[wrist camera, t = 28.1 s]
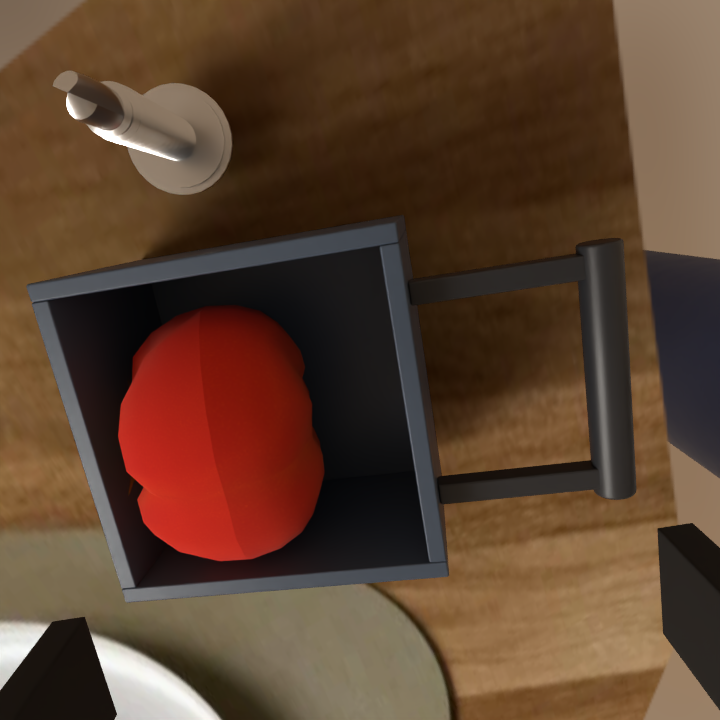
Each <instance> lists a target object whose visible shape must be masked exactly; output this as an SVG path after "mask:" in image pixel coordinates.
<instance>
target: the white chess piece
mask: <svg viewBox="0 0 720 720" xmlns="http://www.w3.org/2000/svg"><path fill="white" fill-rule="evenodd" d="M53 87H56V88H58V89H60V90H63V91H65V92H67V93H68V95H67V109H68V111H69V113H70V115H71V116H72V117H73V118H74V119H76V120H77V121H79V122H82V123H85V124H87V125H88V127H89V128H90V129H91V130H92V131H93V132H94V133H96V134H97V135H100V136H101V137H102V138H104V139H106V140H108V141H111V142H115V143H118V144H121V145H125V146H128V152H129V154H130V157H131V159H132V161H133V164H134V165H135V167H136V168H137V170H138V171H139V173H140V174H141V175H142V176H143V177H144V178H145V179H146V180H147V181H148V182H149V183H151V184H152V185H154V186H155V187H157V188H158V189H161V190H163V191H166V192H168V193H173V194H179V195H190V194H196V193H199V192H203V191H205V190H207V189H208V188H210V187H212V186H213V185H215V184H216V183H217V182H218V181H219V180H220V179H221V178H222V176H223V175H224V173H225V172H226V170H227V168H228V166H229V163H230V161H231V158H232V151H233V135H232V131H231V127H230V123H229V121H228V119H227V117H226V115H225V113H224V112H223V110H222V109H221V108H220V106H219V105H218V104H217V102H215V101H214V100H213V99H212V98H211V97H210V96H209V95H207V94H206V93H205V92H203V91H201V90H199V89H197V88H196V87H192V86H189V85H186V84H178V83H170V84H164V85H160V86H158V87H155V88H153V89H151V90H149V91H148V92H147V93H145V94H144V95H141V94H139V93H137V92H136V91H134V90H132V89H130V88H129V87H127V86H124V85H121V84H119V83H116V82H112V81H103V82H99V81H97V80H95V79H93V78H91V77H89V76H86V75H84V74H81V73H78V72H74V71H66V72H63V73H61V74H60V75H59V76H58V77H57V78H56V79H55V81H54V83H53Z"/></svg>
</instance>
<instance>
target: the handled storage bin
mask: <svg viewBox="0 0 720 720" xmlns="http://www.w3.org/2000/svg"><path fill="white" fill-rule="evenodd" d="M575 248H576V254H570V255H564V256H558V257H551V258H545V259H538V260H532V261H525V262H519V263H512V264H506V265H500V266H493V267H487V268H480V269H474V270H467V271H461V272H455V273H448V274H442V275H435V276H429V277H422V278H416V279H413V274H412V267H411V260H410V253H409V247H408V240H407V233H406V226H405V219H404V216H403V215H400V216H394V217H388V218H382V219H376V220H371V221H365V222H359V223H353V224H347V225H341V226H336V227H330V228H324V229H318V230H312V231H307V232H301V233H295V234H289V235H283V236H277V237H272V238H266V239H260V240H254V241H248V242H242V243H237V244H231V245H225V246H219V247H213V248H207V249H202V250H196V251H190V252H184V253H178V254H173V255H167V256H161V257H155V258H149V259H143V260H138V261H133V262H129V263H124V264H119V265H115V266H110V267H106V268H101V269H96V270H92V271H87V272H82V273H78V274H73V275H68V276H64V277H59V278H54V279H50V280H45V281H40V282H36V283H31V284H28V285H27V290H28V293H29V296H30V299H31V301H32V302H34V303H32V306H33V309H34V313H35V316H36V319H37V322H38V325H39V328H40V332H41V335H42V338H43V341H44V344H45V347H46V351H47V354H48V357H49V360H50V363H51V366H52V370H53V373H54V376H55V379H56V382H57V385H58V389H59V392H60V395H61V398H62V401H63V404H64V408H65V411H66V414H67V417H68V420H69V423H70V427H71V430H72V433H73V436H74V439H75V442H76V446H77V449H78V452H79V455H80V458H81V461H82V465H83V468H84V471H85V474H86V477H87V480H88V484H89V487H90V490H91V493H92V496H93V499H94V503H95V506H96V509H97V512H98V515H99V518H100V522H101V525H102V528H103V531H104V534H105V537H106V541H107V544H108V547H109V550H110V553H111V556H112V560H113V563H114V566H115V569H116V572H117V575H118V579H119V582H120V585H121V588H122V591H123V594H124V598H125V601H126V602H139V601H152V600H164V599H177V598H189V597H201V596H214V595H226V594H238V593H251V592H263V591H276V590H288V589H300V588H313V587H325V586H337V585H350V584H362V583H375V582H387V581H399V580H412V579H424V578H437V577H448V576H449V568H448V555H447V542H446V528H445V515H444V504H451V503H461V502H471V501H482V500H492V499H502V498H512V497H522V496H532V495H542V494H553V493H563V492H573V491H583V490H594V492H595V493H596V494H597V495H599V496H601V497H603V498H607V499H614V500H619V499H626V498H629V497H631V496H633V495H634V494H635V492H636V473H635V454H634V435H633V415H632V396H631V377H630V358H629V339H628V320H627V300H626V281H625V262H624V243H623V240H622V239H620V238H608V239H599V240H592V241H587V242H582V243H579V244H577V245H576V247H575ZM576 281H578V289H579V302H580V316H581V330H582V343H583V357H584V371H585V385H586V398H587V412H588V426H589V439H590V453H591V460H590V461H580V462H571V463H561V464H552V465H542V466H533V467H523V468H514V469H504V470H495V471H485V472H476V473H467V474H457V475H448V476H442V475H441V467H440V460H439V453H438V446H437V440H436V433H435V426H434V419H433V412H432V405H431V398H430V391H429V384H428V378H427V371H426V364H425V357H424V350H423V343H422V336H421V329H420V322H419V316H418V309H417V305H421V304H428V303H434V302H441V301H448V300H454V299H461V298H468V297H475V296H481V295H488V294H495V293H502V292H508V291H515V290H522V289H528V288H535V287H542V286H549V285H555V284H562V283H569V282H576ZM219 305H238V306H242V307H246V308H251V309H255V310H259V311H261V312H263V313H264V314H266V315H267V316H269V317H270V318H272V319H273V320H275V321H276V322H278V323H279V325H280V326H281V327H282V328H283V329H284V330H285V331H286V332H287V334H288V335H289V336H290V337H291V338H292V340H293V341H294V343H295V344H296V345H297V347H298V348H299V349H300V351H301V354H302V357H303V361H304V364H305V370H304V374H303V377H302V378H303V380H304V382H305V384H306V386H307V388H308V391H309V396H310V400H311V402H312V427H313V428H314V430H315V432H316V434H317V437H318V439H319V441H320V448H321V451H322V454H323V462H324V472H325V473H324V477H323V481H322V485H321V489H320V493H319V497H318V500H317V503H316V507H315V510H314V513H313V515H312V517H311V519H310V520H309V522H308V523H307V525H306V527H305V528H304V530H303V532H302V533H300V534H299V535H298V536H296V537H295V538H294V539H292V540H291V541H290V542H289V543H287V544H286V545H285V546H283V547H282V548H280V549H278V550H275V551H272V552H270V553H267V554H264V555H262V556H259V557H256V558H254V559H247V560H232V561H217V560H212V559H208V558H203V557H199V556H195V555H191V554H186V553H182V552H179V551H177V550H176V549H174V548H173V547H172V546H170V545H169V544H167V543H166V542H164V541H163V540H161V539H160V538H158V537H157V536H156V535H154V534H153V533H152V531H151V530H150V529H149V528H148V527H147V526H146V525H145V524H144V522H143V519H142V515H141V512H140V508H139V504H138V501H137V499H138V497H139V495H140V493H141V491H142V489H143V486H142V485H141V484H140V483H138V482H137V481H135V482H134V483H133V485H132V488H131V491H130V494H129V495H128V493H129V486H130V479H131V475H130V474H129V473H127V472H126V468H125V463H124V459H123V455H122V451H121V447H120V442H119V438H118V432H119V421H120V410H121V403H122V401H123V399H124V397H125V395H126V393H127V391H128V389H129V387H130V386H129V383H130V385H131V383H132V365H133V356H134V355H135V354H136V352H137V351H138V350H139V348H140V347H141V346H142V344H143V343H144V342H145V340H146V339H147V338H148V336H149V335H150V334H151V333H152V332H153V331H155V330H156V329H158V328H159V327H161V326H162V325H164V324H165V323H167V322H168V321H170V320H171V319H173V318H174V317H176V316H177V315H180V314H183V313H186V312H189V311H192V310H195V309H199V308H202V307H205V306H219ZM128 381H129V383H128Z"/></svg>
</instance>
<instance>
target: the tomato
mask: <svg viewBox="0 0 720 720" xmlns="http://www.w3.org/2000/svg"><path fill="white" fill-rule="evenodd" d="M304 370H305V364H304V361H303V357H302V354H301V351H300V349H299V348H298V347H297V345H296V344H295V343H294V341H293V340H292V338H291V337H290V336H289V335H288V334H287V332H286V331H285V330H284V329H283V328H282V327H281V326H280V325H279V323H278V322H276V321H275V320H273V319H272V318H270V317H269V316H267V315H266V314H264V313H263V312H261V311H259V310H255V309H251V308H246V307H242V306H238V305H219V306H205V307H202V308H199V309H195V310H192V311H189V312H186V313H183V314H180V315H177V316H176V317H174V318H173V319H171V320H170V321H168V322H167V323H165V324H164V325H162V326H161V327H159V328H158V329H156V330H155V331H153V332H152V333H151V334H150V335H149V336H148V338H147V339H146V340H145V342H144V343H143V344H142V346H141V347H140V348H139V350H138V351H137V352H136V354H135V355H134V356H133V365H132V383H131V385H130V383H129V381H128V383H129V386H130V387H129V389H128V391H127V393H126V395H125V397H124V399H123V401H122V403H121V410H120V421H119V432H118V438H119V442H120V447H121V451H122V455H123V459H124V463H125V468H126V472H127V473H129V474H130V475H131V479H130V486H129V493H128V495H129V494H130V491H131V488H132V485H133V483H134V482H135V481H137V482H138V483H140V484H141V485H142V486H143V489H142V491H141V493H140V495H139V497H138V499H137V501H138V504H139V508H140V512H141V515H142V519H143V522H144V524H145V525H146V526H147V527H148V528H149V529H150V530H151V531H152V533H153V534H154V535H156V536H157V537H158V538H160V539H161V540H163V541H164V542H166V543H167V544H169V545H170V546H172V547H173V548H174V549H176V550H177V551H179V552H182V553H186V554H191V555H195V556H199V557H203V558H208V559H212V560H217V561H232V560H247V559H254V558H256V557H259V556H262V555H264V554H267V553H270V552H272V551H275V550H278V549H280V548H282V547H283V546H285V545H286V544H287V543H289V542H290V541H291V540H292V539H294V538H295V537H296V536H298V535H299V534H300V533H302V532H303V530H304V528H305V527H306V525H307V523H308V522H309V520H310V519H311V517H312V515H313V513H314V510H315V507H316V503H317V500H318V497H319V493H320V489H321V485H322V481H323V477H324V473H325V472H324V462H323V454H322V451H321V448H320V441H319V439H318V437H317V434H316V432H315V430H314V428H313V427H312V402H311V400H310V396H309V391H308V388H307V386H306V384H305V382H304V380H303V378H302V377H303V374H304Z"/></svg>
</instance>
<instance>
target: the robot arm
mask: <svg viewBox="0 0 720 720" xmlns="http://www.w3.org/2000/svg"><path fill="white" fill-rule="evenodd" d="M658 546H659V565H660V583H661V602H662V620H663V634H664V635H665V637H666V638H667V639H668V641H669V642H670V643H671V645H672V646H673V647H674V649H675V650H676V652H677V653H678V654H679V656H680V657H681V658H682V660H683V661H684V662H685V663H686V665H687V666H688V668H689V669H690V670H691V672H692V673H693V675H694V676H695V677H696V679H697V680H698V681H699V682H700V684H701V685H702V687H703V688H704V690H705V691H706V692H707V694H708V695H709V696H710V698H711V699H712V700H713V702H714V703H715V704H716V706H717V707H718V708H719V710H720V548H719V547H718V546H717V545H716V544H715V543H714V542H713V541H711V540H710V539H709V538H708V537H707V536H706V535H705V534H704V533H703V532H702V531H700V530H699V529H698V528H697V527H696V526H695V525H694V524H693V523H690V524H683V525H677V526H670V527H664V528H658ZM116 715H117V713H116V710H115V707H114V704H113V701H112V698H111V695H110V692H109V689H108V686H107V683H106V680H105V677H104V674H103V671H102V668H101V665H100V662H99V659H98V655H97V652H96V649H95V646H94V643H93V640H92V637H91V634H90V631H89V628H88V625H87V622H86V619H85V617H80V618H74V619H67V620H61V621H54V622H52V623H51V624H50V626H49V627H48V628H47V630H46V631H45V632H44V634H43V635H42V636H41V638H40V639H39V640H38V642H37V643H36V644H35V646H34V647H33V648H32V649H31V651H30V652H29V653H28V655H27V656H26V657H25V659H24V660H23V661H22V663H21V664H20V665H19V667H18V668H17V669H16V671H15V672H14V673H13V675H12V676H11V677H10V679H9V680H8V681H7V682H6V684H5V685H4V686H3V688H2V689H1V690H0V720H114V719H115V717H116Z"/></svg>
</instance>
